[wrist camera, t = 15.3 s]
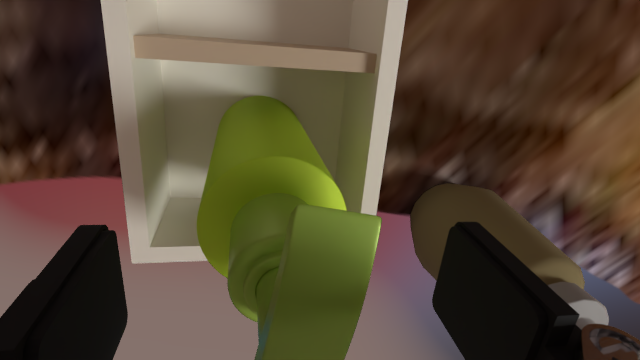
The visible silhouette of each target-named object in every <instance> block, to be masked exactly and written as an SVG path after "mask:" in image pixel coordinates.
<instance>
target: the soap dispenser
mask: <svg viewBox="0 0 640 360" xmlns="http://www.w3.org/2000/svg"><path fill="white" fill-rule="evenodd" d="M381 222H382V219H381V217H379V216H375V215H369V214H363V213H357V212H351V211H347V208H346V204H345V201H344V198H343V195H342V193H341V191H340V189H339V188H338V186H337V184H336V183H335V181H334V179H333V177H332V176H331V174H330V172H329V171H328V169H327V167H326V166H325V164H324V162H323V161H322V159H321V157H320V155H319V154H318V152H317V150H316V149H315V147H314V145H313V144H312V142H311V140H310V139H309V137H308V135H307V134H306V132H305V130H304V128H303V127H302V125H301V123H300V122H299V120H298V118H297V117H296V115H295V114H294V112H293V111H292V110H291V109H290V108H289V107H288V106H287V105H286V104H284V103H283V102H281V101H279V100H277V99H275V98H272V97H267V96H251V97H247V98H244V99H242V100H240V101H238V102H236V103H235V104H233V105H232V106H231V107H230V108H229V109H228V110H227V111H226V112H225V114H224V115H223V117H222V119H221V121H220V124H219V127H218V131H217V135H216V139H215V144H214V148H213V152H212V156H211V160H210V165H209V169H208V173H207V177H206V181H205V185H204V190H203V194H202V198H201V202H200V206H199V211H198V215H197V236H198V241H199V244H200V247H201V249H202V252H203V254H204V255H205V257H206V259H207V260H208V261H209V263H210V264H211V265H212V266H213V267H214V268H215V269H216V270H217V271H218V272H219V273H220V274H222V275H223V276H225V277H226V278H228V291H229V295H230V298H231V300H232V302H233V304H234V305H235V307H236V308H237V309H238V311H240V312H241V313H242V314H243V315H244V316H246V317H247V318H249V319H251V320H253V321H255V322H258V336H259V345H258V349H257V352H256V356H255V360H344V359H345V356H346V353H347V351H348V348H349V346H350V343H351V340H352V337H353V334H354V331H355V329H356V326H357V322H358V319H359V316H360V313H361V310H362V306H363V302H364V299H365V295H366V291H367V288H368V283H369V280H370V275H371V271H372V267H373V262H374V258H375V253H376V249H377V244H378V239H379V234H380V228H381Z"/></svg>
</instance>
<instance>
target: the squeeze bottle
mask: <svg viewBox="0 0 640 360" xmlns="http://www.w3.org/2000/svg"><path fill="white" fill-rule="evenodd" d="M410 221H411V231H412V237H413V242H414V248H415V253H416V255H417V257H418V259H419V261H420V262H421V264H422V266H423V267H424V268H425V269H426V270H427V271H428V272H429V273H430V274H431V275H432V276H433V277H434V278H435V280H436V281H437V278H438V273H439V269H440V265H441V261H442V257H443V253H444V249H445V245H446V241H447V237H448V233H449V230H450V228H451V227H454V225H455V224H456V223H457V222H478V223H480V224H481V225H482V226H483V227H484V228H485V229H486V230H487V231H488V232H490V233H491V234H492V235H493V236H494V237H495V238H496V239H497V240H498V241H499V242H501V243H502V244H503V245H504V246H505V247H506V248H507V249H508V250H509V251H510V252H511V253H513V254H514V255H515V256H516V257H517V258H518V259H519V260H520V261H521V262H522V263H524V264H525V265H526V266H527V267H528V268H529V269H530V270H531V271H532V272H533V273H535V274H536V275H537V276H538V277H539V278H540V279H541V280H542V281H543V282H544V283H546V284H547V285H548V286H549V287H550V288H551V289H552V290H553V291H554V292H555V293H556V294H558V295H559V296H560V297H561V298H562V299H563V300H564V301H565V302H566V303H567V304H569V305H570V306H571V307H572V308H573V309H574V310H575V311H576V312H577V313H578V314H580V315H579V318H578V320H577V322H576V325H577V326H578V327H579V328H580V329H581V330H582V328H583V327H584V326H586V325H587V324H594V323H595V324H604V325H608V321H609V317H608V314H607V310H606V307H605V306H604V305H602V304H601V303H600V302H599V301H597V300H596V299H595V298H593V297H592V296H591V295H589V294H588V293H587V292H586V291H584V283H585V282H584V278H583V275H582V271H581V268H580V267H579V266H578V265H577V264H576V263H574V262H573V261H572V260H571V259H570V258H569V257H568V256H566V255H565V254H564V253H563V252H562V251H561V250H560V249H558V248H557V247H556V246H555V245H554V244H553V243H552V242H551V241H549V240H548V239H547V238H546V237H545V236H544V235H543V234H541V233H540V232H539V231H538V230H537V229H536V228H535V227H533V226H532V225H531V224H530V223H529V222H528V221H527V220H525V219H524V218H523V217H522V216H521V215H520V214H519V213H517V212H516V211H515V210H514V209H513V208H512V207H511V206H509V205H508V204H507V203H506V202H505V201H504V200H503V199H501V198H500V197H499V196H498V195H497V194H495V193H494V192H493V191H492V190H487V189H482V188H478V187H472V186H465V185H458V184H451V183H447V184H442V185H437V186H434V187H433V188H431V189H429V190H428V191H426V192H424V193H423V194H422V196H421V197H420V198H419V199H418V200H417V201H416V203H415V204H414V207H413V210H412V212H411V215H410Z"/></svg>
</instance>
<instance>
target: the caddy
mask: <svg viewBox="0 0 640 360" xmlns="http://www.w3.org/2000/svg"><path fill="white" fill-rule="evenodd" d="M407 3H408V0H101V8H102V16H103V25H104V33H105V41H106V50H107V58H108V67H109V75H110V83H111V92H112V100H113V109H114V117H115V125H116V134H117V142H118V151H119V159H120V167H121V176H122V184H123V193H124V201H125V209H126V217H127V226H128V235H129V243H130V251H131V260H132V263H159V262H185V261H208V260H207V259H206V257H205V255H204V254H203V252H202V249H201V247H200V244H199V241H198V236H197V215H198V211H199V206H200V202H201V198H202V194H203V190H204V185H205V181H206V177H207V173H208V169H209V165H210V160H211V156H212V152H213V148H214V144H215V139H216V135H217V131H218V127H219V124H220V121H221V119H222V117H223V115H224V114H225V112H226V111H227V110H228V109H229V108H230V107H231V106H232V105H233V104H235V103H236V102H238V101H240V100H242V99H244V98H247V97H251V96H267V97H272V98H275V99H277V100H279V101H281V102H283V103H284V104H286V105H287V106H288V107H289V108H290V109H291V110H292V111H293V112H294V114H295V115H296V117H297V118H298V120H299V122H300V123H301V125H302V127H303V128H304V130H305V132H306V134H307V135H308V137H309V139H310V140H311V142H312V144H313V145H314V147H315V149H316V150H317V152H318V154H319V155H320V157H321V159H322V161H323V162H324V164H325V166H326V167H327V169H328V171H329V172H330V174H331V176H332V177H333V179H334V181H335V183H336V184H337V186H338V188H339V189H340V191H341V193H342V195H343V198H344V201H345V204H346V208H347V211H351V212H357V213H363V214H369V215H375V216H376V214H377V207H378V200H379V193H380V186H381V180H382V173H383V166H384V159H385V152H386V146H387V139H388V132H389V125H390V118H391V112H392V105H393V98H394V91H395V84H396V78H397V71H398V64H399V57H400V50H401V44H402V37H403V30H404V23H405V16H406V10H407Z"/></svg>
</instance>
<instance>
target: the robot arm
mask: <svg viewBox="0 0 640 360" xmlns="http://www.w3.org/2000/svg"><path fill="white" fill-rule="evenodd" d="M432 303H433V307H434V310H435V312H436V313H437V315H438V316H439V318H440V319H441V321H442V323H443V324H444V326H445V328H446V329H447V331H448V333H449V334H450V336H451V337H452V339H453V341H454V342H455V344H456V345H457V347H458V349H459V350H460V352H461V353H462V355H463V357H464V358H465V360H640V341H639V340H638V339H637V338H635V337H633V336H631V335H630V334H628V333H626V332H624V331H622V330H619V329H617V328H615V327H611V326H608V325H604V324H595V323H594V324H587V325H586V326H584V327H583V328H582V330H581V329H580V328H579V327H578V326H577V325H576V322H577V320H578V318H579V315H580V314H578V313H577V312H576V311H575V310H574V309H573V308H572V307H571V306H570V305H569V304H567V303H566V302H565V301H564V300H563V299H562V298H561V297H560V296H559V295H558V294H556V293H555V292H554V291H553V290H552V289H551V288H550V287H549V286H548V285H547V284H546V283H544V282H543V281H542V280H541V279H540V278H539V277H538V276H537V275H536V274H535V273H533V272H532V271H531V270H530V269H529V268H528V267H527V266H526V265H525V264H524V263H522V262H521V261H520V260H519V259H518V258H517V257H516V256H515V255H514V254H513V253H511V252H510V251H509V250H508V249H507V248H506V247H505V246H504V245H503V244H502V243H501V242H499V241H498V240H497V239H496V238H495V237H494V236H493V235H492V234H491V233H490V232H488V231H487V230H486V229H485V228H484V227H483V226H482V225H481V224H480V223H478V222H457V223H456V224H455V225H454V227H451V228H450V230H449V233H448V237H447V241H446V245H445V249H444V253H443V257H442V261H441V265H440V269H439V273H438V278H437V282H436V286H435V290H434V294H433V299H432ZM127 315H128V314H127V306H126V299H125V292H124V285H123V278H122V271H121V264H120V257H119V250H118V244H117V236H116V233H115V231H113V230H111V231H110V230H108V227H107V226H106V225H80V226H79V227H78V228H77V229H76V230H75V231H74V233H73V234H72V235H71V236H70V238H69V239H68V240H67V241H66V242H65V244H64V245H63V246H62V247H61V248H60V250H59V251H58V252H57V253H56V255H55V256H54V257H53V258H52V259H51V261H50V262H49V263H48V264H47V265H46V267H45V268H44V269H43V270H42V272H41V273H40V274H39V275H38V276H37V278H36V279H34V280H32V281H31V282H30V283H29V284H28V285H27V286H26V288H25V289H24V290H23V291H22V292H21V294H20V295H19V296H18V297H17V298H16V300H15V301H14V302H13V303H12V305H11V306H10V307H9V308H8V309H7V310H6V312H5V313H4V314H3V315H2V316H1V318H0V360H113V357H114V355H115V352H116V350H117V347H118V345H119V342H120V340H121V337H122V335H123V333H124V330H125V327H126V324H127Z"/></svg>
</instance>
